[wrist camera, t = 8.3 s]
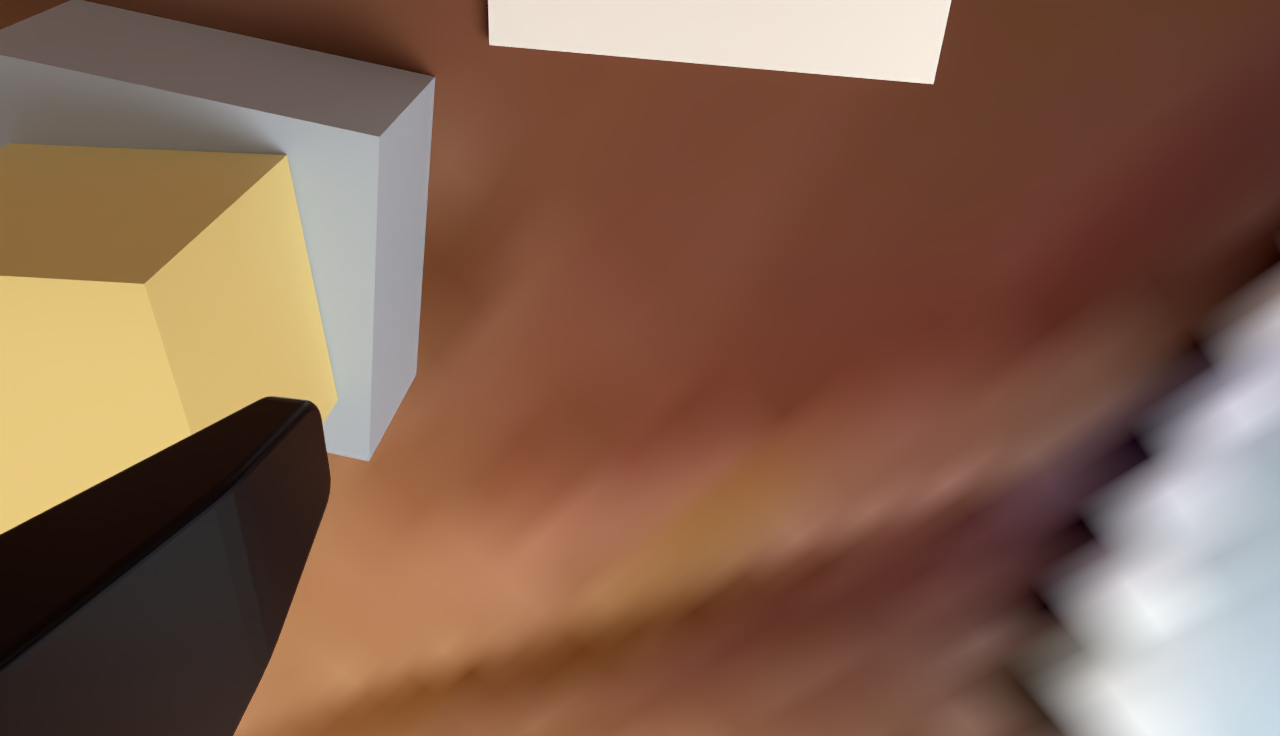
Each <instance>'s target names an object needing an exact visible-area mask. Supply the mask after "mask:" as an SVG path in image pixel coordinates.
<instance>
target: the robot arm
mask: <svg viewBox="0 0 1280 736" xmlns="http://www.w3.org/2000/svg"><path fill="white" fill-rule="evenodd" d="M330 483H331V478H330V470H329V463H328V457H327V450H326V443H325V437H324V430H323V424H322V418H321V414H320V411H319V409H318V407H317V406H316V405H315V404H314V403H313V402H311V401H309V400H302V399H294V398H286V397H277V396H268V397H264V398H262V399H260V400H257V401H256V402H254V403H252V404H250V405H248V406H246V407H244V408H242V409H240V410H238V411H236V412H234V413H233V414H231V415H229V416H227V417H225V418H223V419H221V420H219V421H217V422H215V423H213V424H211V425H209V426H208V427H206V428H204V429H202V430H200V431H198V432H196V433H194V434H192V435H190V436H188V437H186V438H185V439H183V440H181V441H179V442H177V443H175V444H173V445H171V446H169V447H167V448H165V449H163V450H161V451H160V452H158V453H156V454H154V455H152V456H150V457H148V458H146V459H144V460H142V461H140V462H138V463H137V464H135V465H133V466H131V467H129V468H127V469H125V470H123V471H121V472H119V473H117V474H115V475H113V476H112V477H110V478H108V479H106V480H104V481H102V482H100V483H98V484H96V485H94V486H92V487H90V488H89V489H87V490H85V491H83V492H81V493H79V494H77V495H75V496H73V497H71V498H69V499H67V500H66V501H64V502H62V503H60V504H58V505H56V506H54V507H52V508H50V509H48V510H46V511H44V512H42V513H41V514H39V515H37V516H35V517H33V518H31V519H29V520H27V521H25V522H23V523H21V524H19V525H17V526H16V527H14V528H12V529H10V530H8V531H6V532H4V533H2V534H0V736H233V735H234V733H235V731H236V729H237V727H238V725H239V723H240V721H241V719H242V717H243V715H244V713H245V711H246V709H247V707H248V705H249V703H250V700H251V698H252V696H253V694H254V692H255V690H256V688H257V686H258V684H259V682H260V680H261V678H262V676H263V674H264V671H265V669H266V667H267V665H268V663H269V661H270V659H271V656H272V653H273V651H274V648H275V646H276V643H277V641H278V638H279V636H280V633H281V630H282V628H283V625H284V622H285V619H286V617H287V614H288V611H289V608H290V605H291V603H292V600H293V597H294V594H295V592H296V589H297V586H298V583H299V581H300V578H301V575H302V572H303V569H304V567H305V564H306V561H307V558H308V556H309V553H310V550H311V547H312V545H313V542H314V539H315V536H316V534H317V531H318V528H319V525H320V522H321V520H322V517H323V514H324V511H325V509H326V506H327V503H328V498H329V494H330Z"/></svg>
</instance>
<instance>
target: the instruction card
mask: <svg viewBox="0 0 1280 736" xmlns="http://www.w3.org/2000/svg"><path fill="white" fill-rule="evenodd" d="M950 5H951V0H488V18H489V45H496V46H507V47H519V48H530V49H541V50H553V51H564V52H575V53H586V54H598V55H609V56H620V57H632V58H643V59H654V60H666V61H677V62H688V63H700V64H711V65H722V66H733V67H745V68H756V69H767V70H779V71H790V72H801V73H813V74H824V75H835V76H847V77H858V78H869V79H880V80H892V81H903V82H914V83H926V84H933V83H934V79H935V74H936V69H937V65H938V60H939V56H940V51H941V46H942V42H943V37H944V32H945V28H946V23H947V18H948V14H949V9H950Z"/></svg>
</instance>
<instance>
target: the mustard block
mask: <svg viewBox="0 0 1280 736" xmlns="http://www.w3.org/2000/svg"><path fill="white" fill-rule="evenodd" d="M268 396H277V397H286V398H294V399H302V400H309V401H311V402H313V403H314V404H315V405H316V406H317V407H318V409H319V411H320V414H321V418H322V424H323V422H324V421H325V419H326V418H327V416H328V415H329V413H330V412H331V410H332V409H333V407H334V405H335V404H336V402H337V401H338V397H337V392H336V387H335V382H334V378H333V373H332V368H331V363H330V358H329V354H328V349H327V344H326V339H325V335H324V330H323V325H322V320H321V315H320V311H319V306H318V301H317V296H316V291H315V287H314V282H313V277H312V272H311V268H310V263H309V258H308V253H307V248H306V244H305V239H304V234H303V229H302V224H301V220H300V215H299V210H298V205H297V201H296V196H295V191H294V186H293V181H292V177H291V172H290V167H289V162H288V157H287V155H276V154H252V153H229V152H205V151H181V150H158V149H134V148H111V147H87V146H63V145H40V144H16V143H9V144H7V145H6V146H4V147H2V148H0V534H2V533H4V532H6V531H8V530H10V529H12V528H14V527H16V526H17V525H19V524H21V523H23V522H25V521H27V520H29V519H31V518H33V517H35V516H37V515H39V514H41V513H42V512H44V511H46V510H48V509H50V508H52V507H54V506H56V505H58V504H60V503H62V502H64V501H66V500H67V499H69V498H71V497H73V496H75V495H77V494H79V493H81V492H83V491H85V490H87V489H89V488H90V487H92V486H94V485H96V484H98V483H100V482H102V481H104V480H106V479H108V478H110V477H112V476H113V475H115V474H117V473H119V472H121V471H123V470H125V469H127V468H129V467H131V466H133V465H135V464H137V463H138V462H140V461H142V460H144V459H146V458H148V457H150V456H152V455H154V454H156V453H158V452H160V451H161V450H163V449H165V448H167V447H169V446H171V445H173V444H175V443H177V442H179V441H181V440H183V439H185V438H186V437H188V436H190V435H192V434H194V433H196V432H198V431H200V430H202V429H204V428H206V427H208V426H209V425H211V424H213V423H215V422H217V421H219V420H221V419H223V418H225V417H227V416H229V415H231V414H233V413H234V412H236V411H238V410H240V409H242V408H244V407H246V406H248V405H250V404H252V403H254V402H256V401H257V400H260V399H262V398H264V397H268Z"/></svg>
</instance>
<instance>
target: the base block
mask: <svg viewBox="0 0 1280 736" xmlns="http://www.w3.org/2000/svg"><path fill="white" fill-rule="evenodd" d="M434 88H435V77H433V76H429V75H424V74H420V73H415V72H410V71H406V70H401V69H397V68H392V67H387V66H383V65H378V64H374V63H369V62H364V61H360V60H355V59H351V58H346V57H342V56H337V55H332V54H328V53H323V52H319V51H314V50H309V49H305V48H300V47H296V46H291V45H286V44H282V43H277V42H273V41H268V40H263V39H259V38H254V37H250V36H245V35H240V34H236V33H231V32H227V31H222V30H217V29H213V28H208V27H204V26H199V25H194V24H190V23H185V22H181V21H176V20H171V19H167V18H162V17H158V16H153V15H148V14H144V13H139V12H135V11H130V10H125V9H121V8H116V7H112V6H107V5H102V4H98V3H93V2H89V1H84V0H70V1H67V2H65V3H62V4H60V5H58V6H55V7H53V8H51V9H48V10H46V11H43V12H41V13H39V14H36V15H34V16H32V17H29V18H27V19H24V20H22V21H20V22H17V23H15V24H13V25H10V26H8V27H5V28H3V29H1V30H0V148H2V147H4V146H6V145H7V144H9V143H16V144H40V145H63V146H87V147H111V148H134V149H158V150H181V151H205V152H229V153H252V154H276V155H287V157H288V162H289V167H290V172H291V177H292V181H293V186H294V191H295V196H296V201H297V205H298V210H299V215H300V220H301V224H302V229H303V234H304V239H305V244H306V248H307V253H308V258H309V263H310V268H311V272H312V277H313V282H314V287H315V291H316V296H317V301H318V306H319V311H320V315H321V320H322V325H323V330H324V335H325V339H326V344H327V349H328V354H329V358H330V363H331V368H332V373H333V378H334V382H335V387H336V392H337V397H338V401H337V402H336V404H335V405H334V407H333V409H332V410H331V412H330V413H329V415H328V416H327V418H326V419H325V421H324V422H323V430H324V437H325V443H326V450H327V452H328V453H333V454H337V455H342V456H346V457H351V458H356V459H360V460H365V461H369V460H370V458H371V457H372V455H373V453H374V451H375V449H376V447H377V446H378V444H379V442H380V440H381V438H382V436H383V435H384V433H385V431H386V429H387V427H388V425H389V424H390V422H391V420H392V418H393V416H394V414H395V413H396V411H397V409H398V407H399V405H400V403H401V402H402V400H403V398H404V396H405V394H406V392H407V391H408V389H409V387H410V385H411V383H412V381H413V380H414V378H415V376H416V369H417V353H418V337H419V322H420V306H421V291H422V275H423V259H424V244H425V228H426V212H427V197H428V181H429V166H430V150H431V134H432V119H433V103H434Z"/></svg>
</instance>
